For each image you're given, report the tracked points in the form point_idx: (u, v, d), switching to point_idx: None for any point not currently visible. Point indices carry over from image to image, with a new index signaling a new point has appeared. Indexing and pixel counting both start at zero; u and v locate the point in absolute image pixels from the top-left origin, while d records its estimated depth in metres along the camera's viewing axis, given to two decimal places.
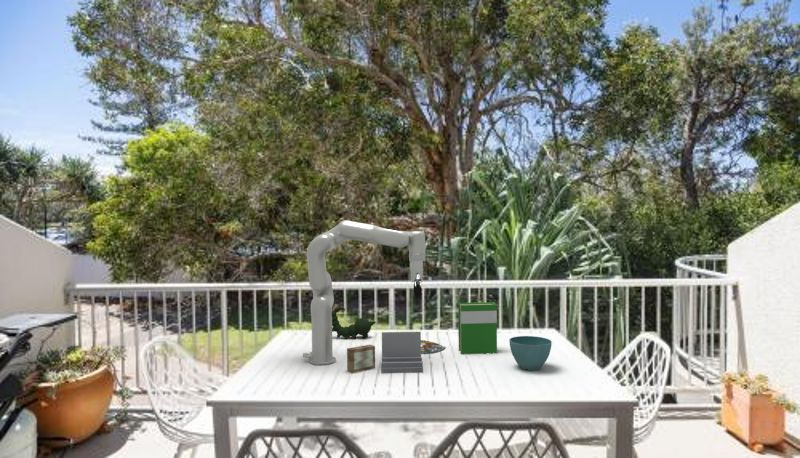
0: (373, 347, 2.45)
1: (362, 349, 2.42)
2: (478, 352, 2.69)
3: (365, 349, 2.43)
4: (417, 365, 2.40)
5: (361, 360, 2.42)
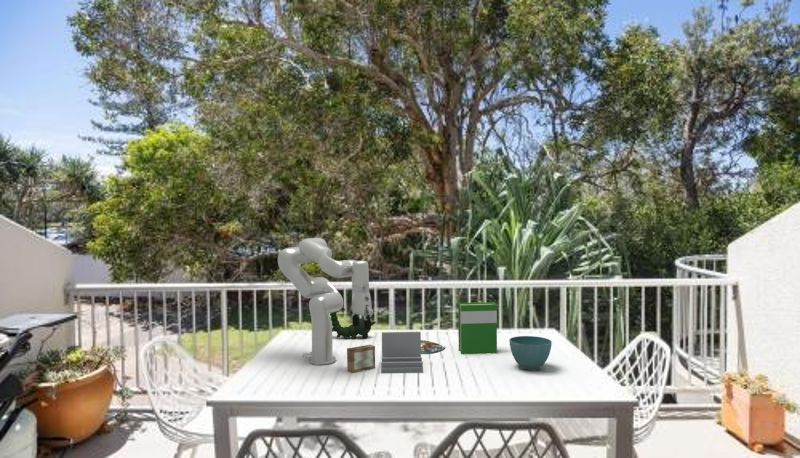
0: (373, 347, 2.45)
1: (362, 349, 2.42)
2: (478, 352, 2.69)
3: (365, 349, 2.43)
4: (417, 365, 2.40)
5: (361, 360, 2.41)
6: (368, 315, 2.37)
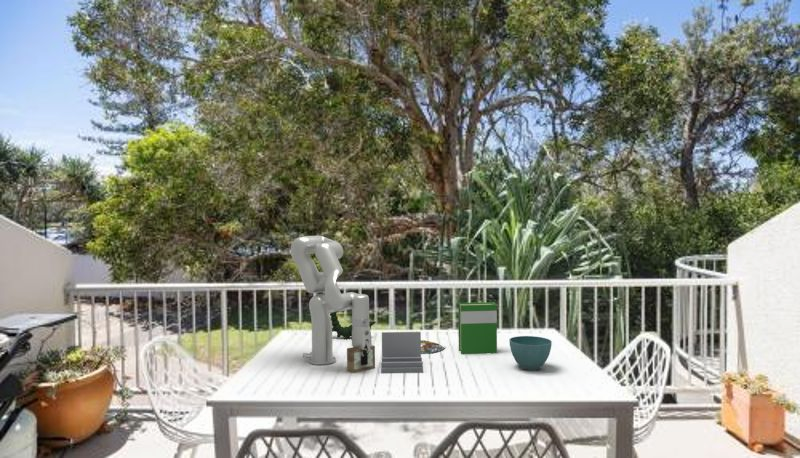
0: (373, 347, 2.45)
1: None
2: (478, 352, 2.69)
3: None
4: (417, 365, 2.40)
5: None
6: (365, 351, 2.39)
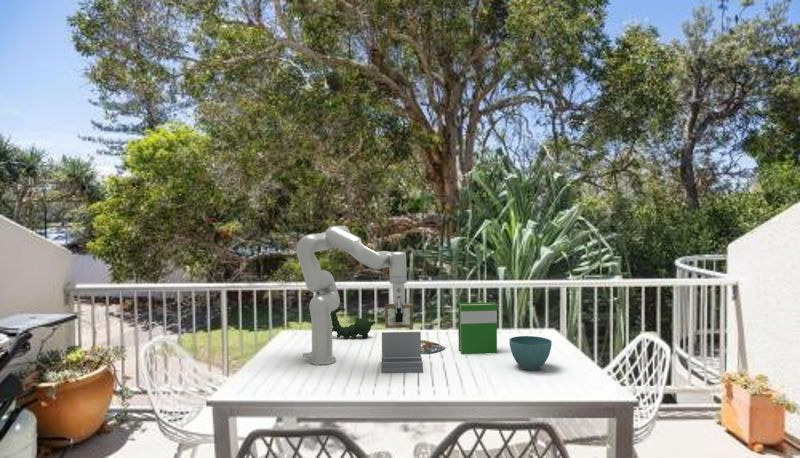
0: (410, 306, 2.42)
1: None
2: (478, 352, 2.69)
3: None
4: (417, 365, 2.40)
5: None
6: (397, 308, 2.39)
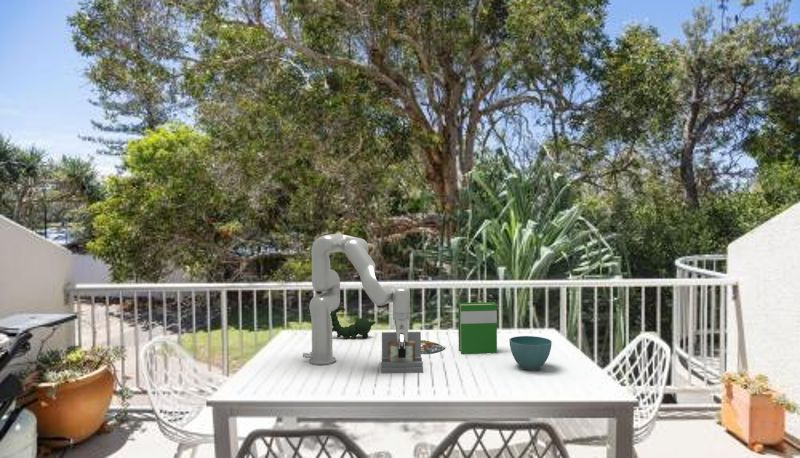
0: (413, 344, 2.42)
1: None
2: (478, 352, 2.69)
3: None
4: (417, 365, 2.40)
5: None
6: (399, 344, 2.38)
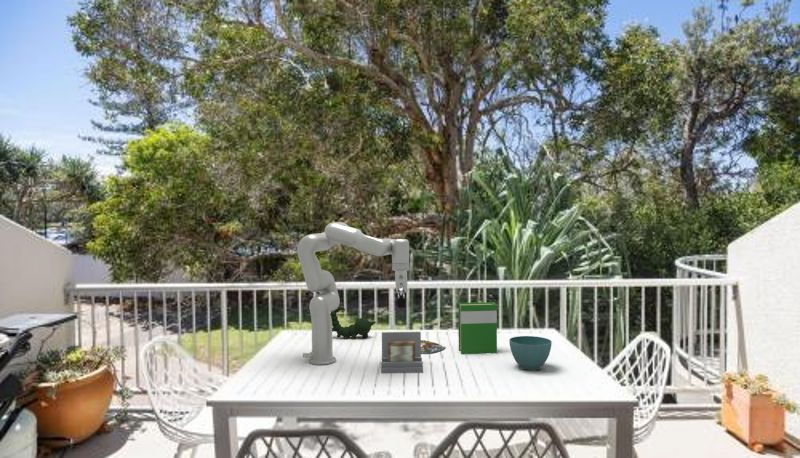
0: (413, 344, 2.42)
1: (400, 344, 2.42)
2: (478, 352, 2.69)
3: (403, 344, 2.42)
4: (417, 365, 2.40)
5: (398, 354, 2.42)
6: (399, 293, 2.36)
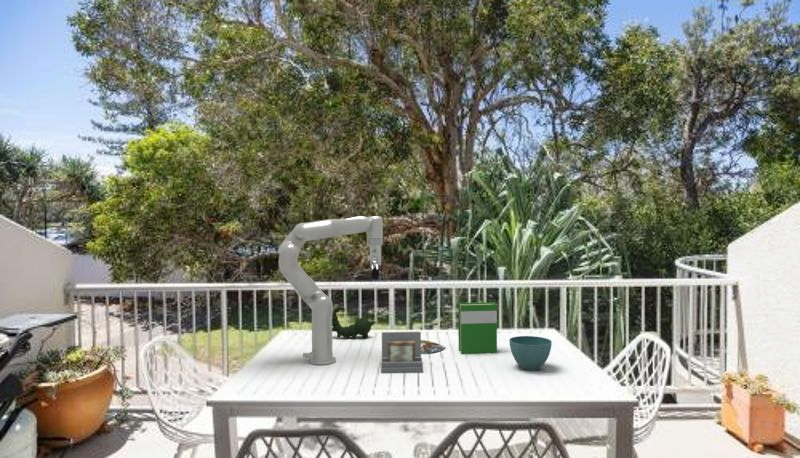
0: (413, 344, 2.42)
1: (400, 344, 2.42)
2: (478, 352, 2.69)
3: (403, 344, 2.42)
4: (417, 365, 2.40)
5: (398, 354, 2.42)
6: (372, 265, 2.58)
